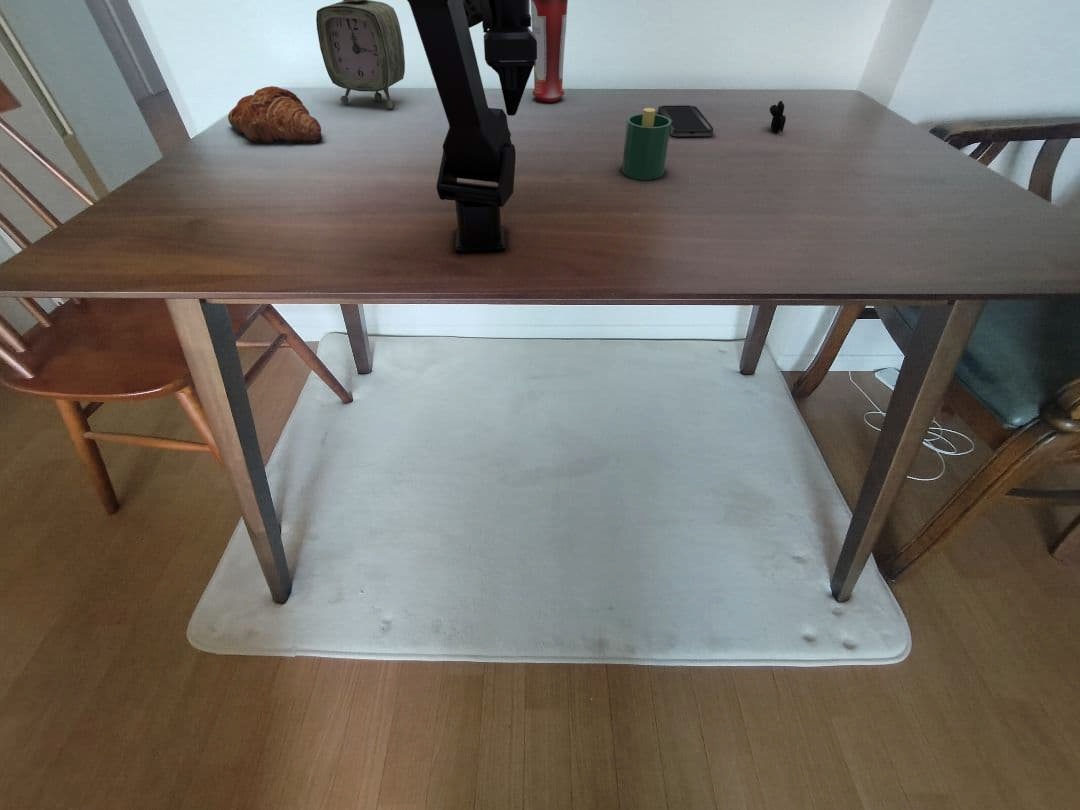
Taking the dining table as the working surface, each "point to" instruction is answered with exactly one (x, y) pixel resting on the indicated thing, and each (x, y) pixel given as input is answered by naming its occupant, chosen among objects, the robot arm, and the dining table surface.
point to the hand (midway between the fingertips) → (509, 104)
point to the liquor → (549, 48)
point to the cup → (645, 147)
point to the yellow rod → (648, 117)
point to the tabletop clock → (361, 46)
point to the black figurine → (777, 117)
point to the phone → (686, 121)
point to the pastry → (274, 117)
